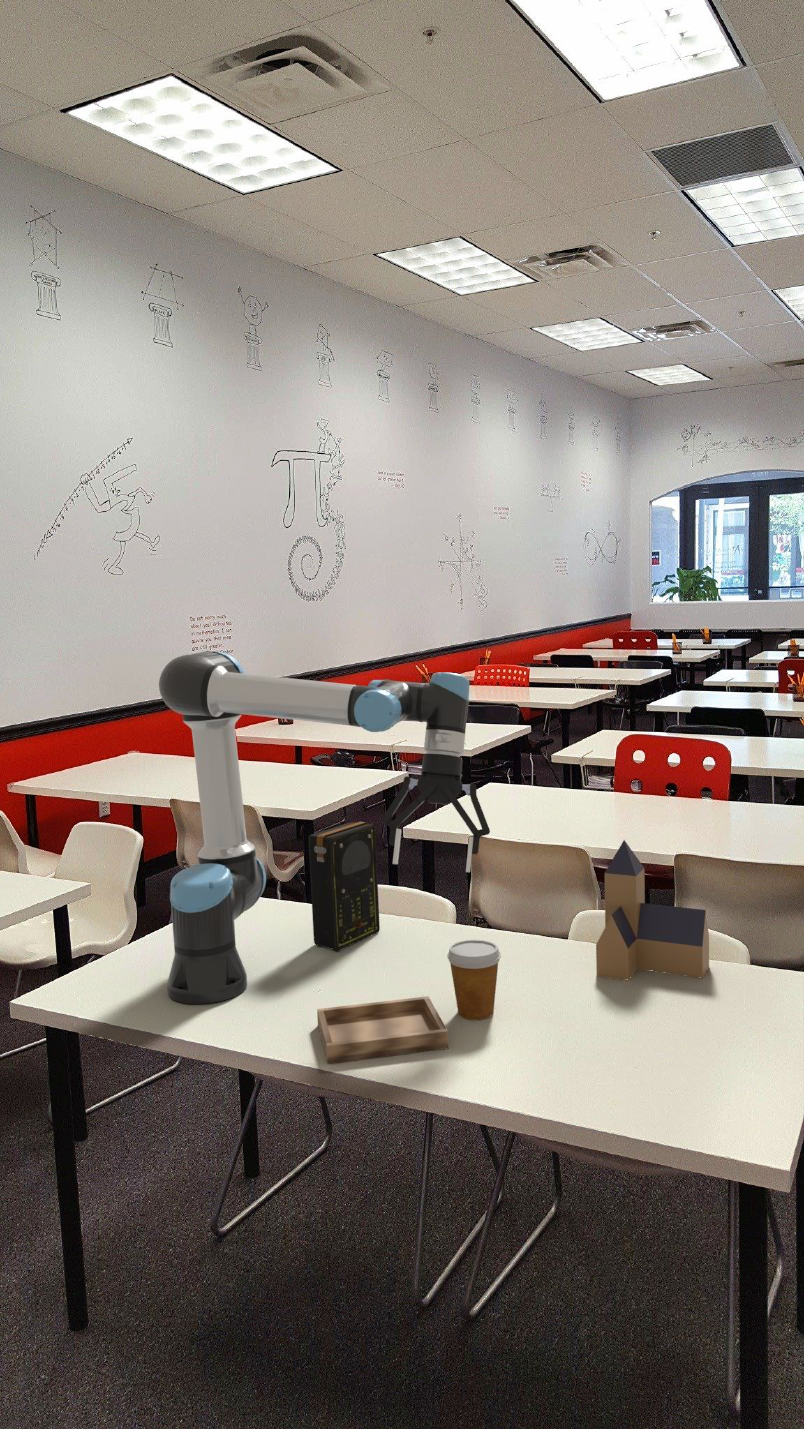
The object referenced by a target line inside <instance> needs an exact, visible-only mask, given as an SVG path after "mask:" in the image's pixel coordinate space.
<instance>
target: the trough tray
mask: <svg viewBox="0 0 804 1429" xmlns="http://www.w3.org/2000/svg"><path fill="white" fill-rule="evenodd" d="M316 1014H317V1028H318V1031H319V1035H320V1039H321V1042H322V1047H323V1050H324V1053H325V1054H324V1055H325V1058H326V1062H327V1065H329V1064H336V1063H345V1062H352V1061H360V1060H368V1059H376V1058H384V1057H391V1056H394V1057H395V1056H402V1055H409V1054H416V1053H424V1052H431V1051H440V1050H448V1049H449V1047H450V1046H449V1030H448V1029H447V1027H446V1025H445V1024H444V1022H443V1020H442V1018H441V1017H440V1016H441V1015H440V1014H439V1013H438V1011H437V1009H436V1007H435V1005H434V1003H433V1002H432V1000H431V998H430V997H429V995H427V996H418V997H410V998H402V999H393V1000H392V999H391V1000H384V1001H376V1002H369V1003H367V1002H366V1003H358V1004H349V1005H342V1006H341V1005H339V1006H333V1007H323V1008H317V1009H316Z"/></svg>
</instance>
